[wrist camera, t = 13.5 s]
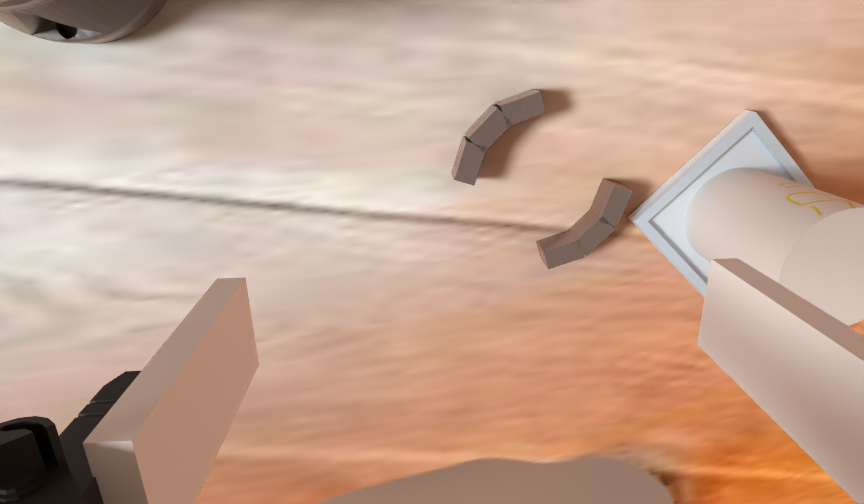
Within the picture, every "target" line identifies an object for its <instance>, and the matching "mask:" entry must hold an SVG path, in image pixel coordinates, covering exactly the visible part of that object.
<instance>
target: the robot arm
mask: <svg viewBox="0 0 864 504" xmlns="http://www.w3.org/2000/svg"><path fill="white" fill-rule="evenodd" d="M165 2H166V0H0V21H1V22H3V23H5V24H6V25H8V26H10V27H12V28H14V29H16V30H19V31H21V32H23V33H26V34H29V35H32V36H35V37H38V38H42V39H46V40H50V41H55V42H63V43H86V44H88V43H103V42H108V41H113V40H116V39H120V38H122V37H125V36H127V35H129V34H131V33H133V32H135V31H137V30H138V29H140V28H141V27H143V26H144V25H145V24H147V23H148V22H149V21H150V20H151V19H152V18H153V17H154V16H155V15H156V14H157V13H158V11H159V10H160V9H161V8H162V6H163V5H164V3H165ZM697 344H698V345H699V346H700V347H701V348H702V349H703V350H704V351H705V352H706V353H707V354H708V355H709V356H710V357H711V358H712V359H713V360H714V361H715V362H716V363H717V364H718V365H719V366H720V367H721V368H722V369H723V370H724V371H725V372H726V373H727V374H728V375H729V376H730V377H731V378H732V379H733V380H734V381H735V382H736V383H737V384H738V385H739V386H740V387H741V388H742V389H743V390H744V391H745V392H746V393H747V394H748V395H749V396H750V397H751V398H752V399H753V400H754V401H755V402H756V403H757V404H758V405H759V406H760V407H761V408H762V409H763V410H764V411H765V412H766V413H767V414H768V415H769V416H770V417H771V418H772V419H773V420H774V421H775V422H776V423H777V424H778V425H779V426H780V427H781V428H782V429H783V430H784V431H785V432H786V433H787V434H788V435H789V436H790V437H791V438H792V439H793V440H794V441H795V442H796V443H797V444H798V445H799V446H800V447H801V448H802V449H803V450H804V451H805V452H806V453H807V454H808V455H809V456H810V457H811V458H812V459H813V460H814V461H815V462H816V463H817V464H818V465H819V466H820V467H821V468H822V469H823V470H824V471H825V472H826V473H827V474H828V475H829V476H830V477H831V478H832V479H833V480H834V481H835V482H836V483H837V484H838V485H839V486H840V487H841V488H842V489H843V490H844V491H845V492H846V493H847V494H848V495H849V496H850V497H851V498H853V499H854V500H855V501H856V502H857V503H858V504H864V336H863V335H862V334H860V333H858V332H857V331H855V330H854V329H852V328H850V327H849V326H847V325H845V324H844V323H842V322H841V321H839V320H837V319H836V318H834V317H832V316H831V315H829V314H828V313H826V312H824V311H823V310H821V309H820V308H818V307H816V306H815V305H813V304H811V303H810V302H808V301H807V300H805V299H803V298H802V297H800V296H798V295H797V294H795V293H794V292H792V291H790V290H789V289H787V288H785V287H784V286H782V285H781V284H779V283H777V282H776V281H774V280H772V279H771V278H769V277H768V276H766V275H764V274H763V273H761V272H759V271H758V270H756V269H755V268H753V267H751V266H750V265H748V264H746V263H745V262H743V261H742V260H740V259H738V258H728V259H711V265H710V271H709V277H708V283H707V288H706V294H705V300H704V306H703V312H702V318H701V324H700V329H699V335H698V341H697ZM258 365H259V362H258V356H257V350H256V343H255V337H254V330H253V324H252V318H251V311H250V305H249V298H248V292H247V285H246V279H245V278H225V279H217V280H216V281H215V282H214V283H213V284H212V286H211V287H210V288H209V289H208V291H207V292H206V293H205V294H204V295H203V297H202V298H201V299H200V300H199V301H198V303H197V304H196V305H195V306H194V308H193V309H192V310H191V311H190V312H189V314H188V315H187V316H186V317H185V319H184V320H183V321H182V322H181V323H180V325H179V326H178V327H177V328H176V330H175V331H174V332H173V333H172V334H171V336H170V337H169V338H168V339H167V341H166V342H165V343H164V344H163V345H162V347H161V348H160V349H159V350H158V352H157V353H156V354H155V355H154V356H153V358H152V359H151V360H150V361H149V363H148V364H147V365H146V366H145V367H144V369H143V370H142V371H127V372H124V373H123V374H121V375H120V376H118V377H117V378H115V379H114V380H112V381H110V382H109V383H107V384H106V385H104V386H103V387H102V389H101V390H100V391H99V392H98V393H97V394H96V395H95V396H94V398H93V399H92V400H91V401H90V404H87V405H86V406H85V408H84V409H83V410H82V411H81V412H80V413H79V414H78V418H75V419H74V420H73V421H72V422H71V423H70V424H69V425H68V427H67V428H66V429H65V430H64V431H63V432H62V433H61V434H60V435H58V432H57V429H56V426H55V424H54V423H53V422H52V421H51V420H50V419H48V418H44V417H37V416H33V417H24V418H17V419H13V420H10V421H6V422H3V423H0V504H194V503H195V501H196V499H197V497H198V495H199V493H200V490H201V488H202V486H203V484H204V482H205V480H206V477H207V475H208V473H209V471H210V469H211V467H212V464H213V462H214V460H215V458H216V456H217V454H218V451H219V449H220V447H221V445H222V443H223V441H224V438H225V436H226V434H227V432H228V430H229V428H230V425H231V423H232V421H233V419H234V417H235V415H236V412H237V410H238V408H239V406H240V404H241V402H242V399H243V397H244V395H245V393H246V391H247V389H248V386H249V384H250V382H251V380H252V378H253V376H254V373H255V371H256V369H257V367H258Z"/></svg>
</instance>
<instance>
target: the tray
mask: <svg viewBox="0 0 864 504" xmlns="http://www.w3.org/2000/svg"><path fill="white" fill-rule="evenodd" d="M741 167H746V168H753V169H757V170H760V171H763V172H766V173H769V174H772V175H775V176H778V177H781V178H784V179H787V180H790V181H793V182H796V183H799V184H802V185H806V186H809V187H812V188H815V187H814V185H813V184H812V183H811V182H810V180H809V179H808V178H807V176H806V175H805V174H804V173H803V171H802V170H801V169H800V168H799V166H798V165H797V164H796V162H795V161H794V160H793V159H792V157H791V156H790V155H789V154H788V152H787V151H786V150H785V148H784V147H783V146H782V145H781V143H780V142H779V141H778V140H777V138H776V137H775V136H774V134H773V133H772V132H771V131H770V129H769V128H768V127H767V126H766V124H765V123H764V122H763V120H762V119H761V118H760V117H759V115H758V114H757V113H756V112H754V111H749V110H744V111H743V112H742V113H741V114H740V115H738V116H737V117H736V118H735V119H734V120H733V121H732V122H731V123H730V124H729V125H728V126H726V127H725V128H724V129H723V130H722V131H721V132H720V133H719V134H718V135H717V136H715V137H714V138H713V139H712V140H711V141H710V142H709V143H708V144H707V145H706V146H705V147H703V148H702V149H701V150H700V151H699V152H698V153H697V154H696V155H695V156H694V157H692V158H691V159H690V160H689V161H688V162H687V163H686V164H685V165H684V166H683V167H682V168H680V169H679V170H678V171H677V172H676V173H675V174H674V175H673V176H672V177H671V178H669V179H668V180H667V181H666V182H665V183H664V184H663V185H662V186H661V187H660V188H659V189H657V190H656V191H655V192H654V193H653V194H652V195H651V196H650V197H649V198H648V199H647V200H645V201H644V202H643V203H642V204H641V205H640V206H639V207H638V208H637V209H636V210H634V211H633V212H632V213H631V214H630V215H629V216H628V218H629V219H630V220H631V221H632V222H633V224H634V225H635V226H636V227H637V228H638V229H639V230H640V231H641V232H642V233H643V234H644V235H645V236H646V237H647V238H648V239H649V240H650V241H651V242H652V244H653V245H654V246H655V247H656V248H657V249H658V250H659V251H660V252H661V253H662V254H663V255H664V256H665V257H666V258H667V259H668V260H669V261H670V262H671V264H672V265H673V266H674V267H675V268H676V269H677V270H678V271H679V272H680V273H681V274H682V275H683V276H684V277H685V278H686V279H687V280H688V281H689V282H690V283H691V285H692V286H693V287H694V288H695V289H696V290H697V291H698V292H699V293H700V294H701V295H702V296H703V297H704V298H705V294H706V288H707V283H708V277H709V271H710V265H711V262H709V261H708V260H706V259H705V258H703V257H702V256H700V255H699V254H698V253H696V252H695V251H694V250H693V248H692V247H691V246H690V244H689V242H688V240H687V237H686V234H685V226H684V223H685V215H686V211H687V208H688V205H689V203H690V201H691V199H692V198H693V196H694V194H695V193H696V192H697V190H698V189H699V188H700V187H701V186H702V185H703V184H704V183H705V182H706V181H708V180H709V179H710V178H712V177H713V176H715V175H717V174H719V173H721V172H723V171H726V170H729V169H733V168H741ZM815 189H816V188H815Z"/></svg>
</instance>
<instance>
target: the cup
mask: <svg viewBox="0 0 864 504" xmlns="http://www.w3.org/2000/svg"><path fill="white" fill-rule="evenodd" d="M684 226H685V234H686V237H687V240H688V242H689V244H690V246H691V247H692V248H693V250H694V251H695V252H696V253H698V254H699V255H700V256H702V257H703V258H705V259H706V260H708V261H709V262H711V259H728V258H738V259H740V260H742V261H743V262H745V263H746V264H748V265H750V266H751V267H753V268H755V269H756V270H758V271H759V272H761V273H763V274H764V275H766V276H768V277H769V278H771V279H772V280H774V281H776V282H777V283H779V284H781V285H782V286H784V287H785V288H787V289H789V290H790V291H792V292H794V293H795V294H797V295H798V296H800V297H802V298H803V299H805V300H807V301H808V302H810V303H811V304H813V305H815V306H816V307H818V308H820V309H821V310H823V311H824V312H826V313H828V314H829V315H831V316H832V317H834V318H836V319H837V320H839V321H841V322H842V323H844V324H845V325H847V326H849V325H852V324H854V323H857V322H859V321H861V320H863V319H864V205H863V204H860V203H857V202H854V201H851V200H848V199H845V198H842V197H839V196H836V195H833V194H830V193H827V192H824V191H821V190H818V189H815V188H812V187H809V186H806V185H802V184H799V183H796V182H793V181H790V180H787V179H784V178H781V177H778V176H775V175H772V174H769V173H766V172H763V171H760V170H757V169H753V168H746V167H741V168H733V169H729V170H726V171H723V172H721V173H719V174H717V175H715V176H713V177H712V178H710V179H709V180H708V181H706V182H705V183H704V184H703V185H702V186H701V187H700V188H699V189H698V190H697V192H696V193H695V194H694V196H693V198H692V199H691V201H690V203H689V205H688V208H687V211H686V215H685V223H684Z"/></svg>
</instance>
